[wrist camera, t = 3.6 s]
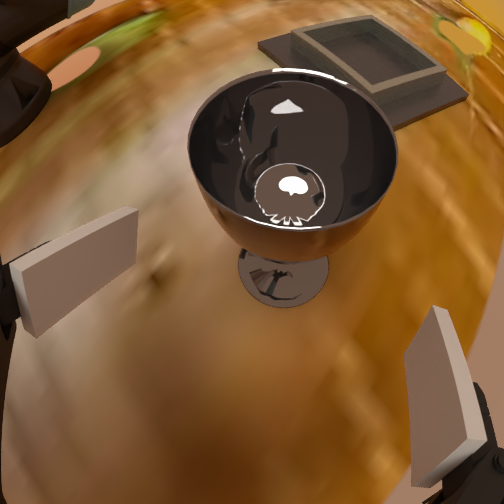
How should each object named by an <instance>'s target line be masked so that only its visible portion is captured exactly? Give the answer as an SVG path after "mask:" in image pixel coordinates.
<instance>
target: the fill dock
mask: <svg viewBox="0 0 504 504" xmlns="http://www.w3.org/2000/svg"><path fill="white" fill-rule="evenodd" d="M258 49H260V50H261V51H262V52H263V53H265V54H266V55H267V56H268V57H270V58H271V59H272V60H273V61H274V62H276V63H277V64H278V65H279V66H280V67H281V68H283V69H285V68H291V69H305V70H310V71H316V72H320V73H324V74H327V75H330V76H333V77H336V78H338V79H340V80H343V81H345V82H347V83H349V84H351V85H352V86H354V87H356V88H357V89H359V90H360V91H362V92H363V93H364V94H366V95H367V96H368V97H369V98H370V99H372V100H373V101H374V102H375V103H376V104H377V106H378V107H379V108H380V109H381V110H382V111H383V113H384V114H385V116H386V117H387V119H388V120H389V122H390V124H391V126H392V128H393V131H396V130H398V129H400V128H402V127H405V126H407V125H409V124H411V123H413V122H416V121H418V120H420V119H422V118H425V117H427V116H429V115H431V114H434V113H436V112H438V111H440V110H443V109H445V108H447V107H450V106H452V105H454V104H457V103H459V102H461V101H464V100H466V99H467V97H468V95H469V94H468V93H467V92H466V91H465V90H464V89H462V88H461V87H460V86H459V85H458V84H457V83H456V82H455V81H454V80H453V79H451V78H450V77H449V76H448V75H447V74H446V72H447V69H446V68H445V67H444V66H442V65H441V64H440V63H439V62H438V61H436V60H435V59H434V58H433V57H431V56H430V55H429V54H428V53H426V52H425V51H424V50H422V49H421V48H420V47H418V46H417V45H416V44H414V43H413V42H412V41H410V40H409V39H407V38H406V37H405V36H403V35H402V34H400V33H399V32H397V31H396V30H394V29H393V28H391V27H390V26H388V25H387V24H385V23H384V22H382V21H381V20H379V19H377V18H376V17H374V16H373V15H366V16H359V17H352V18H346V19H341V20H335V21H330V22H325V23H320V24H316V25H311V26H307V27H302V28H298V29H294V30H291V33H288V34H285V35H281V36H277V37H274V38H270V39H267V40H264V41H260V42H258Z"/></svg>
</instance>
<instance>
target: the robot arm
mask: <svg viewBox="0 0 504 504" xmlns="http://www.w3.org/2000/svg"><path fill="white" fill-rule="evenodd" d="M94 1H95V0H0V147H1V146H3V145H4V144H6V143H8V142H9V141H10V140H12V139H13V138H14V137H16V136H17V135H18V134H19V133H20V132H21V131H22V130H23V129H24V128H25V127H26V126H27V125H28V124H29V123H30V122H31V121H32V120H33V119H34V118H35V117H36V115H37V114H38V113H39V112H40V110H41V109H42V108H43V106H44V105H45V103H46V101H47V99H48V98H49V95H50V93H51V89H52V83H51V81H50V79H49V78H48V76H47V75H46V73H45V72H44V71H42V70H41V69H40V68H38V67H37V66H35V65H34V64H32V63H31V62H30V61H28V60H27V59H25V58H24V57H22V56H21V55H20V53H19V52H18V50H17V49H16V47H18V46H19V45H21V44H22V43H24V42H25V41H27V40H29V39H30V38H32V37H34V36H35V35H37V34H39V33H40V32H42V31H44V30H46V29H47V28H49V27H51V26H53V25H55V24H56V23H58V22H60V21H62V20H64V19H66V18H67V19H69V18H70V17H71V16H72V15H74V14H76V13H77V12H79V11H81V10H83V9H85V8H87V7H89V6H90V5H91V4H92V3H93V2H94ZM138 213H139V210H138V209H135V208H132V207H129V206H123V207H121V208H119V209H117V210H114V211H112V212H110V213H108V214H106V215H103V216H101V217H99V218H97V219H95V220H93V221H91V222H88V223H86V224H84V225H82V226H80V227H78V228H76V229H74V230H72V231H70V232H68V233H66V234H64V235H62V236H60V237H58V238H56V239H54V240H52V241H48V242H45V243H43V244H41V245H39V246H38V247H37V248H34V249H32V250H30V251H29V253H28V252H26V253H24V254H23V255H21V256H19V257H17V258H15V259H13V260H12V261H10V262H8V263H6V264H4V265H3V266H2V261H1V256H0V504H7V502H6V500H5V498H4V496H3V493H2V484H1V440H2V422H3V410H4V400H5V392H6V384H7V377H8V370H9V364H10V358H11V353H12V348H13V343H14V338H15V333H16V321H15V320H16V319H18V318H19V317H20V316H21V319H22V323H23V326H24V329H25V330H26V331H28V332H29V333H30V334H31V335H33V336H34V337H35V338H38V337H39V336H40V335H41V334H43V333H44V332H45V331H46V330H48V329H49V328H50V327H51V326H53V325H54V324H55V323H57V322H58V321H59V320H60V319H62V318H63V317H64V316H66V315H67V314H68V313H69V312H71V311H72V310H73V309H75V308H76V307H77V306H78V305H80V304H81V303H82V302H84V301H85V300H86V299H88V298H89V297H90V296H92V295H93V294H94V293H96V292H97V291H98V290H100V289H101V288H102V287H104V286H105V285H106V284H108V283H109V282H110V281H112V280H113V279H115V278H116V277H117V276H119V275H120V274H121V273H123V272H124V271H126V270H127V269H128V268H130V267H131V266H132V265H134V264H135V263H136V248H137V228H138ZM404 362H405V371H406V380H407V391H408V403H409V417H410V436H411V486H413V487H424V488H431V487H432V486H434V485H435V484H436V483H437V482H439V481H440V480H442V489H441V490H439V491H438V492H437V493H435V494H434V495H432V496H431V497H429V498H428V499H426V500H425V501H424V502H422V503H423V504H426V503H427V502H428V503H427V504H504V449H503V448H500V447H498V446H497V441H496V437H495V433H494V428H493V425H492V421H491V417H490V416H489V415H490V413H489V409H488V407H487V402H486V399H485V395H484V393H483V391H482V390H481V388H480V387H479V385H478V384H477V383H475V382H472V379H471V376H470V372H469V369H468V366H467V363H466V360H465V357H464V354H463V351H462V348H461V345H460V342H459V340H458V337H457V334H456V331H455V329H454V326H453V323H452V321H451V318H450V316H449V313H448V311H447V310H446V309H443V308H440V307H437V306H434V305H432V307H431V309H430V310H429V312H428V314H427V316H426V318H425V320H424V321H423V323H422V325H421V327H420V328H419V330H418V332H417V334H416V335H415V337H414V339H413V340H412V342H411V344H410V345H409V347H408V349H407V350H406V352H405V354H404Z"/></svg>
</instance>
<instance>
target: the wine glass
mask: <svg viewBox="0 0 504 504" xmlns="http://www.w3.org/2000/svg"><path fill="white" fill-rule="evenodd" d="M187 149H188V154H189V160H190V165H191V168H192V171H193V174H194V177H195V179H196V182H197V184H198V187H199V189H200V191H201V193H202V196H203V198H204V200H205V202H206V204H207V206H208V208H209V210H210V212H211V213H212V215H213V216H214V218H215V219H216V220H217V222H218V223H219V224H220V226H221V227H222V228H223V230H224V231H225V232H226V233H227V234H228V235H229V236H230V237H231V238H232V239H233V240H234V241H235V242H236V243H237V244H238V245H240V246H241V247H242V248H241V251H240V254H239V260H238V270H239V274H240V278H241V281H242V283H243V285H244V286H245V288H246V289H247V291H248V292H249V293H250V294H251V295H252V296H253V297H254V298H256V299H257V300H258V301H260V302H262V303H264V304H266V305H269V306H272V307H277V308H291V307H296V306H299V305H302V304H304V303H306V302H308V301H309V300H311V299H312V298H314V297H315V296H316V295H317V294H318V293H319V292H320V290H321V289H322V287H323V286H324V284H325V281H326V279H327V276H328V271H329V260H328V255H330V254H332V253H333V252H335V251H337V250H338V249H340V248H341V247H342V246H344V245H345V244H347V243H348V242H349V241H350V240H351V239H352V238H354V237H355V236H356V235H357V234H358V233H359V232H360V231H361V230H362V228H363V227H364V226H365V225H366V224H367V223H368V221H369V220H370V219H371V217H372V216H373V214H374V213H375V212H376V210H377V209H378V207H379V205H380V203H381V202H382V200H383V198H384V196H385V194H386V193H387V191H388V189H389V187H390V185H391V183H392V181H393V179H394V176H395V172H396V169H397V165H398V146H397V140H396V136H395V133H394V131H393V128H392V126H391V124H390V122H389V120H388V119H387V117H386V116H385V114H384V113H383V111H382V110H381V109H380V108H379V107H378V106H377V104H376V103H375V102H374V101H373V100H372V99H370V98H369V97H368V96H367V95H366V94H364V93H363V92H362V91H360V90H359V89H357V88H356V87H354V86H352V85H351V84H349V83H347V82H345V81H343V80H340V79H338V78H336V77H333V76H330V75H327V74H324V73H320V72H316V71H310V70H305V69H291V68H285V69H271V70H265V71H259V72H255V73H252V74H248V75H245V76H242V77H240V78H238V79H236V80H233V81H231V82H229V83H228V84H226V85H225V86H223V87H221V88H220V89H218V90H217V91H216V92H215V93H213V94H212V95H211V96H210V97H209V98H208V99H207V100H206V101H205V102H204V103H203V105H202V106H201V107H200V108H199V110H198V111H197V113H196V115H195V117H194V119H193V121H192V123H191V127H190V130H189V133H188V147H187Z"/></svg>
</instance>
